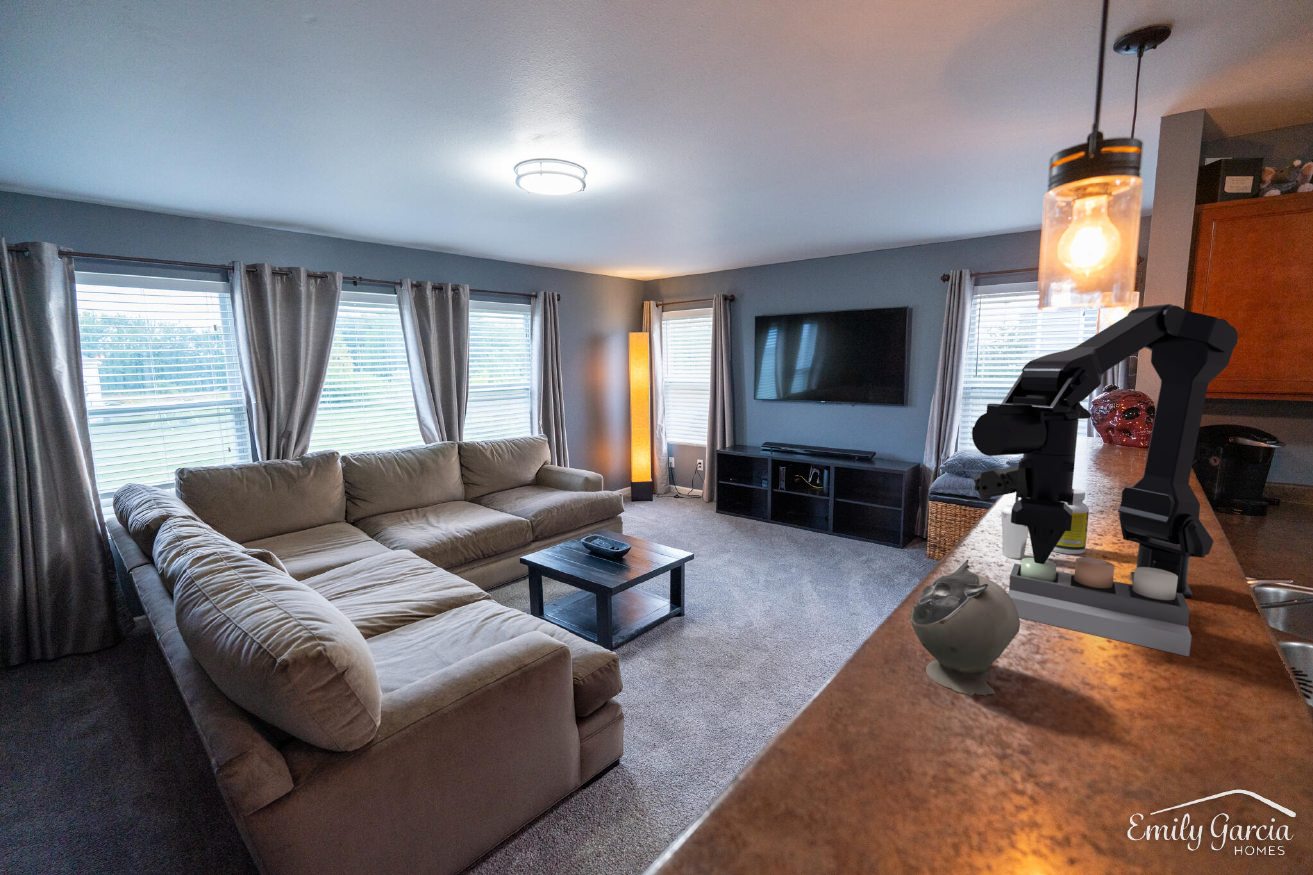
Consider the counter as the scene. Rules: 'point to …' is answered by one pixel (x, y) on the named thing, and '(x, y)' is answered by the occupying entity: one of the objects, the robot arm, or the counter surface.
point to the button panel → (1103, 611)
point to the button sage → (1038, 570)
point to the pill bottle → (1075, 527)
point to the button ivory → (1155, 583)
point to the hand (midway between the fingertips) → (1039, 562)
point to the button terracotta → (1094, 572)
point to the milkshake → (1013, 535)
